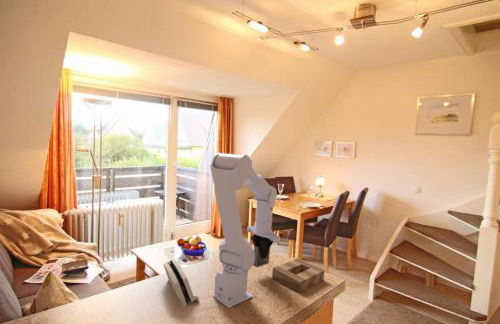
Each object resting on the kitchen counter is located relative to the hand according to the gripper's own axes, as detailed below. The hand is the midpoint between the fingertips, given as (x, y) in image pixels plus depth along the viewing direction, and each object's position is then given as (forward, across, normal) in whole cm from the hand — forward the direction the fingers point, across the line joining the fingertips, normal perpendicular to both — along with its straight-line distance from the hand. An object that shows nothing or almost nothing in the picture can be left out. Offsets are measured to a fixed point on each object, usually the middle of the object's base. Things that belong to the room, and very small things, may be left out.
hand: (261, 256), depth 98 cm
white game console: (+7, +7, +28) cm, 30 cm away
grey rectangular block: (+3, 0, 0) cm, 3 cm away
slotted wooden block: (+7, -10, -9) cm, 15 cm away
